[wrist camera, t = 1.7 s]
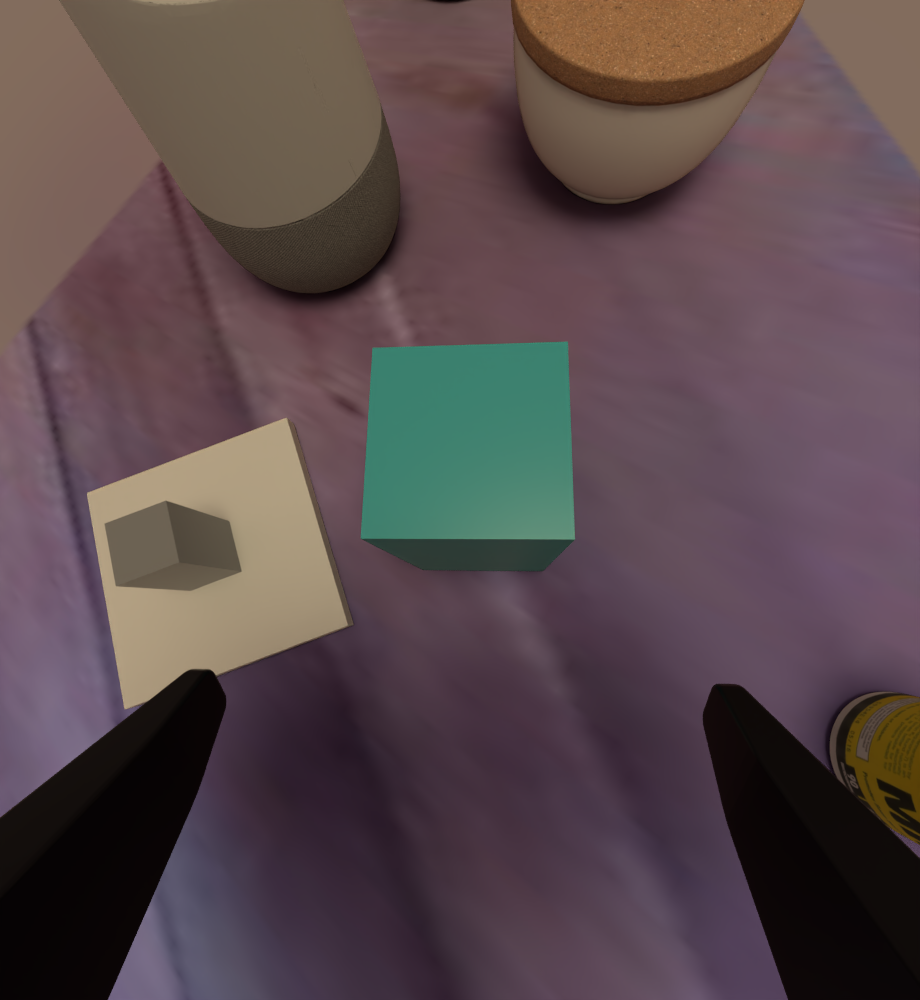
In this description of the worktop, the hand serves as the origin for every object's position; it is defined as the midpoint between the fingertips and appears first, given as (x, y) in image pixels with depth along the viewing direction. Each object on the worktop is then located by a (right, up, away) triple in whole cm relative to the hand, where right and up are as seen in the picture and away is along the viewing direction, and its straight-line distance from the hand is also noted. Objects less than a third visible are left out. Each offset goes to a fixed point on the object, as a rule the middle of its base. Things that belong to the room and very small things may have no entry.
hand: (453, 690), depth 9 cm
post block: (-11, +1, +13) cm, 17 cm away
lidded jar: (+8, +21, +17) cm, 28 cm away
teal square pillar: (+1, +3, +13) cm, 13 cm away
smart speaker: (-7, +17, +17) cm, 25 cm away
